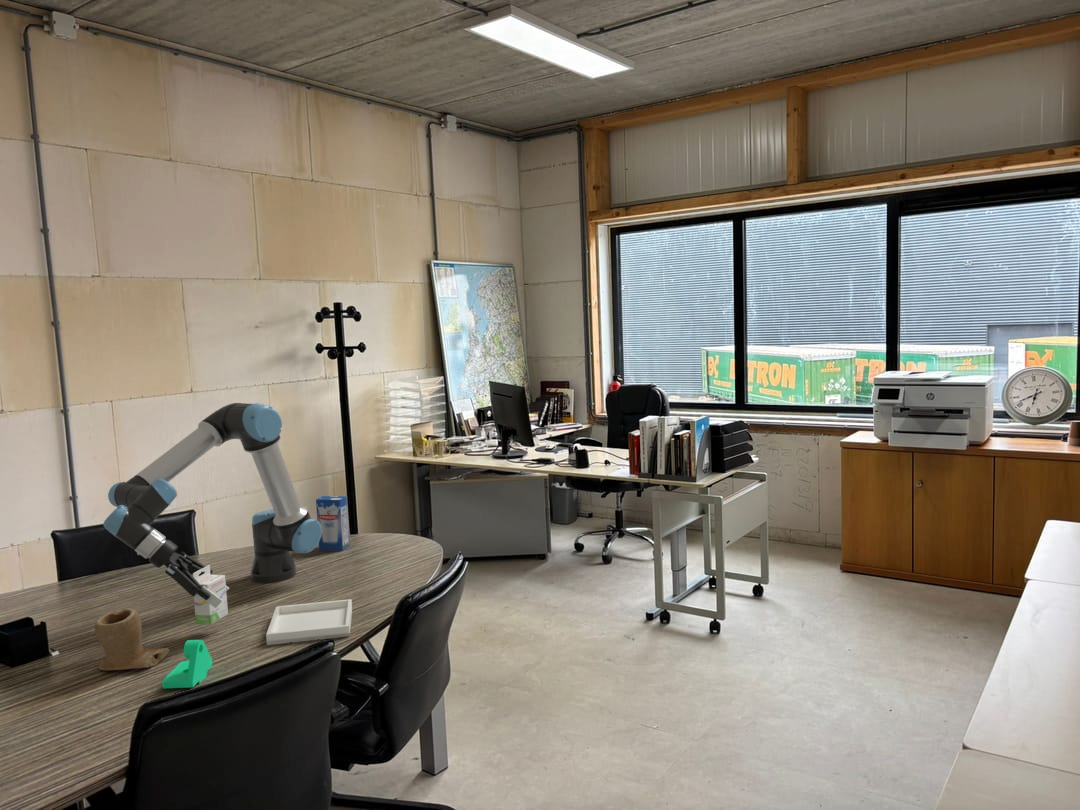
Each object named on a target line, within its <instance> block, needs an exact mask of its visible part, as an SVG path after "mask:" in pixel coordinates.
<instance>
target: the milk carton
mask: <svg viewBox="0 0 1080 810" xmlns="http://www.w3.org/2000/svg"><path fill="white" fill-rule="evenodd" d="M347 499H348V496H347V495H345V496H344V495H322V496H320V497H317V498H316V499H315V503H316V504H315V506H316V520H317V521H318V522H319V523H320V525H321V528H322V535H321V538H320V541H319V543H318V550H319V551H333V552H334V551H336V552H337V551H339V552H344V550H347V549H348V548H349V547H350V531H349V529H350V527H349V515H348V514H349V513H348V500H347Z"/></svg>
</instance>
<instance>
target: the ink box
mask: <svg viewBox="0 0 1080 810" xmlns="http://www.w3.org/2000/svg"><path fill="white" fill-rule="evenodd" d="M205 566H206V565H205ZM210 570H211V565H210V564H208V565H207V566H206V567H204V568H202V569H200V570H198V571H196V572H195V573H193V575H192V576H193V577H194V578H195V579H196V581H197V582H198V583H199V584H200V585H201V586H202V587H203V586H205V587H206V588H207V589H209V590H210V591H211V592H213V593H214V594H215V595H217V596H218V597H219V598H221V599H222V600H223V601H222V602H221V603H220V604H219V605H218V606H217V607H216V608H214V607H213V606H212V605H210V604H209V603H208V602H206V601H205V600H204V599H202V598H201V597H200V596H198V595H197V594H196V595H195V596H193V604H194V617H195V624H196V625H203V626H205V625H206V626H208V625H210V626H211V625H212V626H213V624H215V623H216V622H218V621H219V620H221V619H222V618H224V617H226V616H228V615H229V610H228V597H227V592H226V586H227V584H226V575H225V574H212V573H211V574H210ZM201 572H205V573H204V574H203V575H201V576H199V574H200V573H201Z"/></svg>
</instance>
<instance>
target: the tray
mask: <svg viewBox="0 0 1080 810" xmlns="http://www.w3.org/2000/svg"><path fill="white" fill-rule="evenodd" d="M352 601H353V599H351V598H348V599H340V600H339V599H338V600H330V601H329V600H328V601H319V602H309V603H297V604H288V605H278V606H275V608H274V612H273V615H272V618H271V620H270V623H269V626H268V628H267V631H266V634H265V637H266V645H267V646H270V645H271V646H272V645H280V644H289V643H290V642H292V643H298V642H299V643H300V642H310V640H311V641H317V640H318V639H319V641H320V640H326V639H327V640H328V639H339V638H348V637H350V635H351V627H352V626H351V625H352V617H353V615H352V614H353V602H352Z"/></svg>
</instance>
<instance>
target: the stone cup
mask: <svg viewBox="0 0 1080 810" xmlns="http://www.w3.org/2000/svg"><path fill="white" fill-rule="evenodd" d="M142 628H143V627H142V620H141V616H140V614H139V613H138V612H137V610H135V609H133V608H124V609H121V610H114V611H110V612H108V613H106V614H104V615H102V616H100V617H99V618H98V619H97V620H96V621H95V623H94V631H95V636H96V638H97V639H98V642H99V644H100V645H101V647H102V648H103V650H104V652H105V654H106V658H104V659H103V660H102V661H101V662H100V663H99V665H98V669H99V670H101V671H121V670H122V671H123V670H124V671H125V670H134V669H135V670H136V669H143V668H144V669H145V668H146V669H147V668H151V667H154V666H157V664H159V663H161V662H162V661H163V660H164V659H165V658H166V657H167V655H168V654H169V652H170V649H169V648H167V647H164V648H163V647H161V648H144V647H143V646H142V632H143V631H142Z"/></svg>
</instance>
